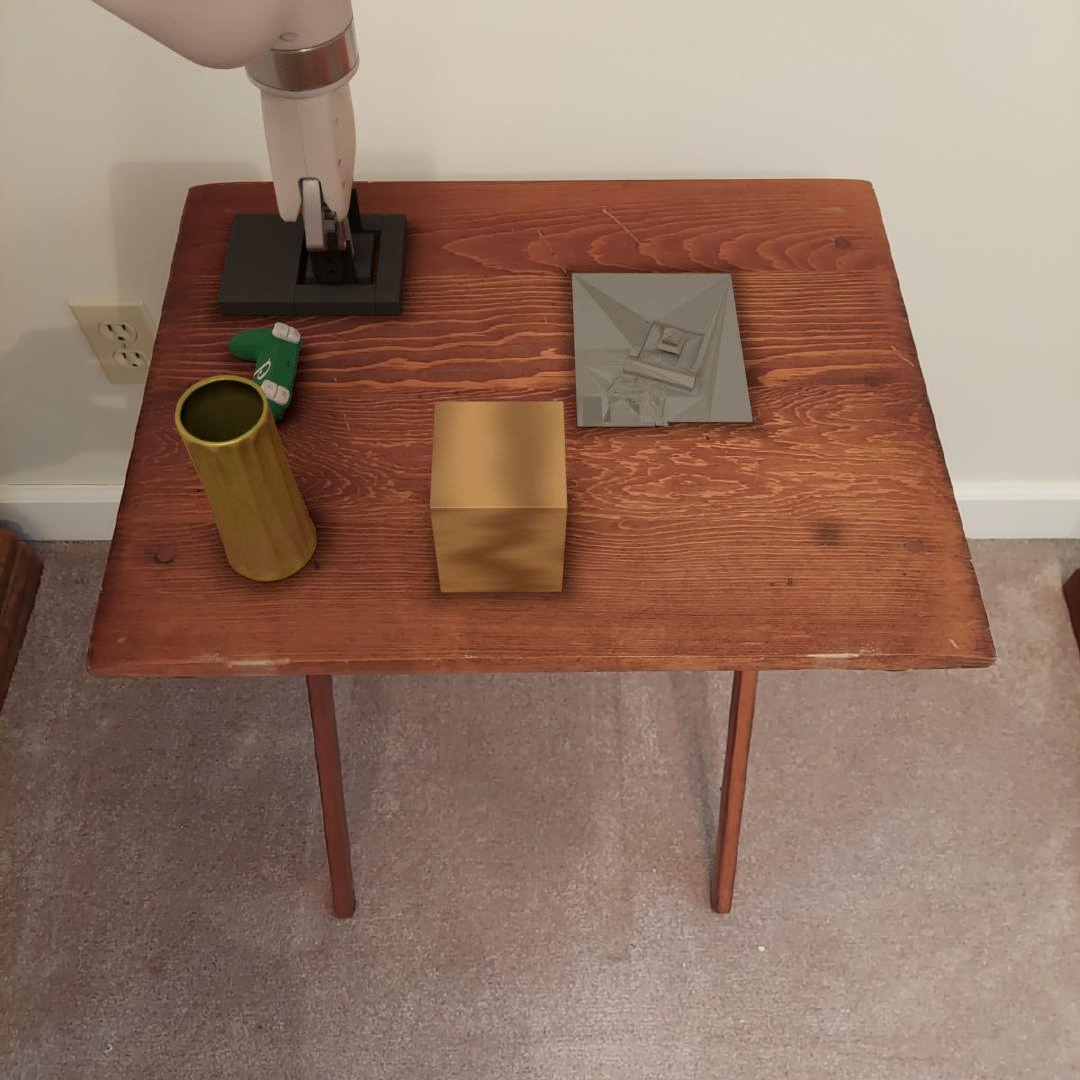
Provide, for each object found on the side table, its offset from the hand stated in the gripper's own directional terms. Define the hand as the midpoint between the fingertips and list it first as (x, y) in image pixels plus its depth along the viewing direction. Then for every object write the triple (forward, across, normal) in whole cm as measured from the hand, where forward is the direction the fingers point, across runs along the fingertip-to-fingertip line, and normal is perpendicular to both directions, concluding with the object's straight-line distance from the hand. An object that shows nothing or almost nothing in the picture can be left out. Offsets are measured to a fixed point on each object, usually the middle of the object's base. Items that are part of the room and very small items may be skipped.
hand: (339, 254), depth 84 cm
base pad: (+2, 0, -2) cm, 3 cm away
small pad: (+1, 0, 0) cm, 1 cm away
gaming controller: (+2, +13, -5) cm, 14 cm away
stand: (+2, +26, +13) cm, 29 cm away
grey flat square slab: (+2, +13, +27) cm, 30 cm away
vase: (+2, +26, -2) cm, 26 cm away
